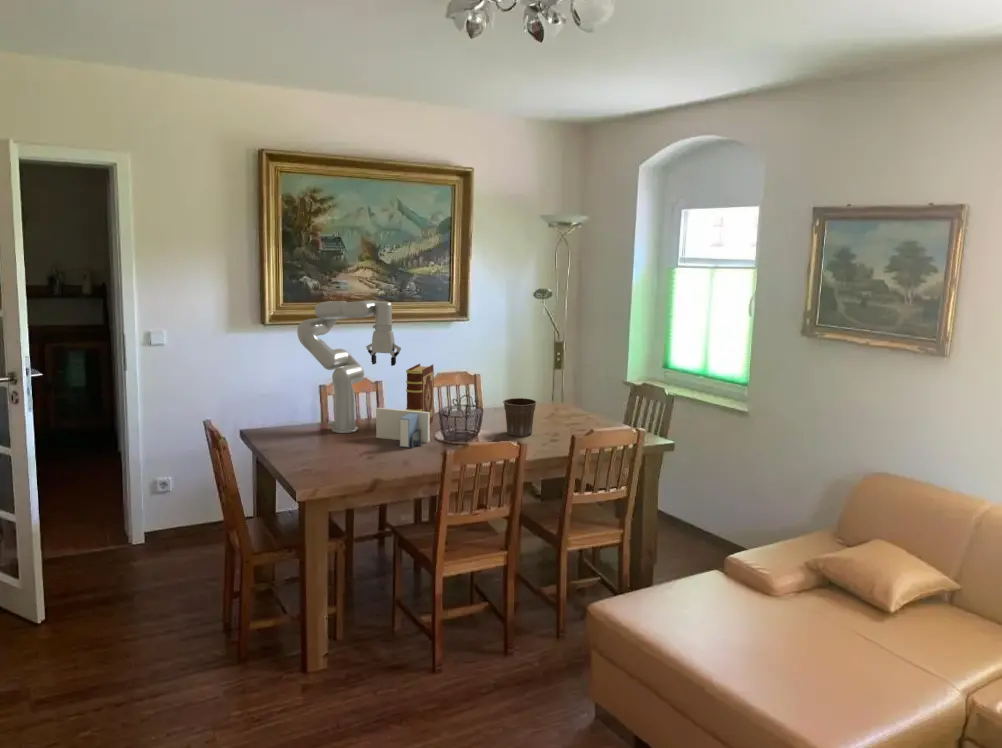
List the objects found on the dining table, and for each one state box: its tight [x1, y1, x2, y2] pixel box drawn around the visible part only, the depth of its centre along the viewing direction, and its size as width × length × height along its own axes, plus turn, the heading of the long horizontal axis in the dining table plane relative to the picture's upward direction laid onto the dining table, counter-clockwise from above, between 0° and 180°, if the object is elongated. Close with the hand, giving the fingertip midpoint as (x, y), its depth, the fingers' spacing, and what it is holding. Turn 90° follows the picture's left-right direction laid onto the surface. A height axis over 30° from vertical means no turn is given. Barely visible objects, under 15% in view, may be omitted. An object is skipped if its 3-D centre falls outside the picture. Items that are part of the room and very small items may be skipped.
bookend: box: [397, 429, 423, 449], centre depth 351 cm, size 10×10×6 cm
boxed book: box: [399, 413, 418, 448], centre depth 350 cm, size 4×11×13 cm, turn 164°
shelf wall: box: [375, 407, 431, 444], centre depth 359 cm, size 26×3×14 cm, turn 74°
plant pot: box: [502, 397, 538, 437], centre depth 375 cm, size 16×16×16 cm
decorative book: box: [405, 363, 435, 424], centre depth 385 cm, size 22×8×30 cm, turn 168°
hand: (383, 364), depth 360 cm, fingers open, 9 cm apart
